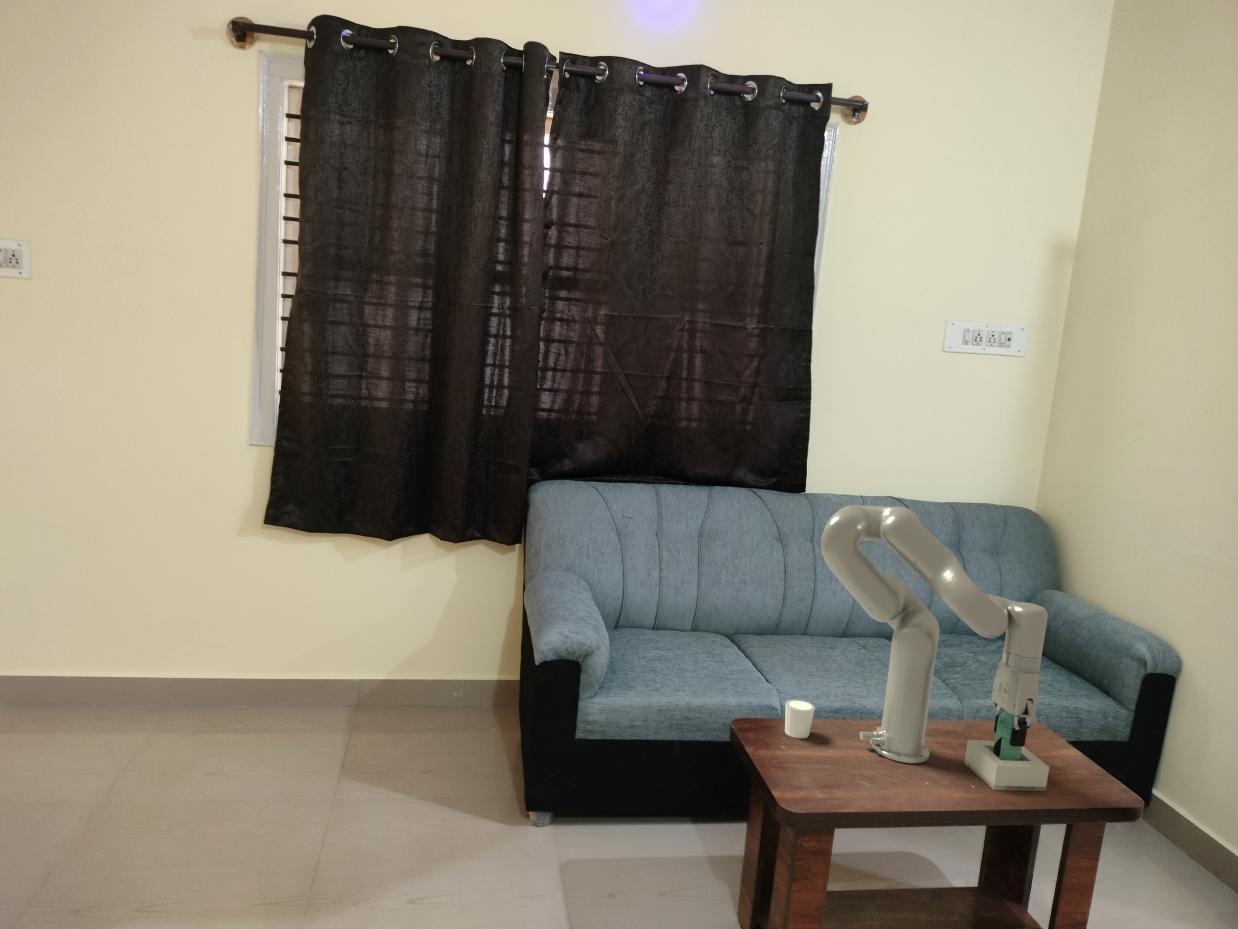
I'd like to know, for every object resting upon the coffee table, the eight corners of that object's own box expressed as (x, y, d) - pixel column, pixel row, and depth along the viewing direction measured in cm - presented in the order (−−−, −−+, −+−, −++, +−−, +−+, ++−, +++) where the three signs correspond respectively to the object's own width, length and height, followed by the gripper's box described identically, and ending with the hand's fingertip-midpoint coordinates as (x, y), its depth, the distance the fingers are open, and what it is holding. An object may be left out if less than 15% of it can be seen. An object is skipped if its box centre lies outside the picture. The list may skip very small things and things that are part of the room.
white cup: (809, 728, 205) (813, 701, 204) (813, 741, 198) (817, 712, 198) (780, 725, 206) (784, 697, 205) (783, 737, 199) (787, 708, 198)
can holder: (993, 790, 182) (997, 765, 182) (964, 763, 194) (967, 740, 193) (1045, 791, 184) (1049, 767, 183) (1013, 764, 196) (1016, 741, 195)
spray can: (1018, 765, 190) (1032, 678, 188) (1018, 775, 185) (1032, 686, 183) (991, 758, 192) (1004, 673, 190) (991, 768, 187) (1004, 680, 185)
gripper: (983, 645, 194) (972, 721, 196) (1028, 674, 177) (1015, 757, 179) (1014, 647, 194) (1002, 723, 197) (1061, 675, 178) (1048, 758, 180)
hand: (1008, 738), depth 188 cm, fingers closed on spray can, 5 cm apart
